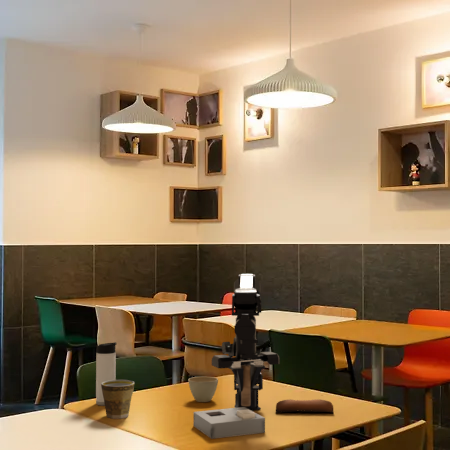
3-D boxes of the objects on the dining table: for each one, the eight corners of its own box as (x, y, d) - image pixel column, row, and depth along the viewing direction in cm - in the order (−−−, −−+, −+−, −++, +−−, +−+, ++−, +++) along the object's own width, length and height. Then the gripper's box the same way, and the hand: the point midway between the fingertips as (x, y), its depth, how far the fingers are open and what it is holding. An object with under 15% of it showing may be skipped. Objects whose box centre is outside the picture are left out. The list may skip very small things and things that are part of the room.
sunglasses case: (330, 407, 216) (331, 391, 213) (333, 423, 210) (334, 407, 207) (274, 407, 216) (274, 391, 213) (275, 423, 210) (275, 407, 207)
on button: (248, 416, 192) (248, 409, 192) (255, 420, 188) (255, 412, 188) (236, 417, 191) (236, 410, 191) (243, 421, 187) (243, 414, 187)
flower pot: (223, 399, 228) (223, 378, 228) (207, 405, 219) (207, 383, 219) (199, 396, 233) (199, 375, 233) (182, 401, 224) (182, 379, 225)
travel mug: (112, 406, 218) (112, 344, 218) (93, 405, 219) (93, 343, 220) (119, 401, 224) (119, 341, 224) (100, 401, 225) (100, 340, 226)
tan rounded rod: (248, 403, 191) (248, 364, 191) (252, 405, 189) (252, 366, 189) (239, 404, 190) (239, 365, 190) (243, 406, 188) (243, 366, 188)
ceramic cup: (140, 415, 206) (141, 382, 206) (114, 422, 198) (114, 387, 199) (114, 408, 214) (114, 377, 215) (88, 414, 207) (88, 381, 207)
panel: (244, 420, 200) (244, 406, 200) (265, 432, 187) (264, 417, 187) (193, 425, 194) (193, 411, 194) (211, 438, 181) (211, 423, 181)
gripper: (263, 330, 201) (263, 382, 201) (204, 333, 194) (204, 387, 193) (280, 334, 191) (280, 390, 190) (219, 338, 184) (219, 395, 183)
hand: (245, 390), depth 190 cm, fingers closed on tan rounded rod, 3 cm apart
